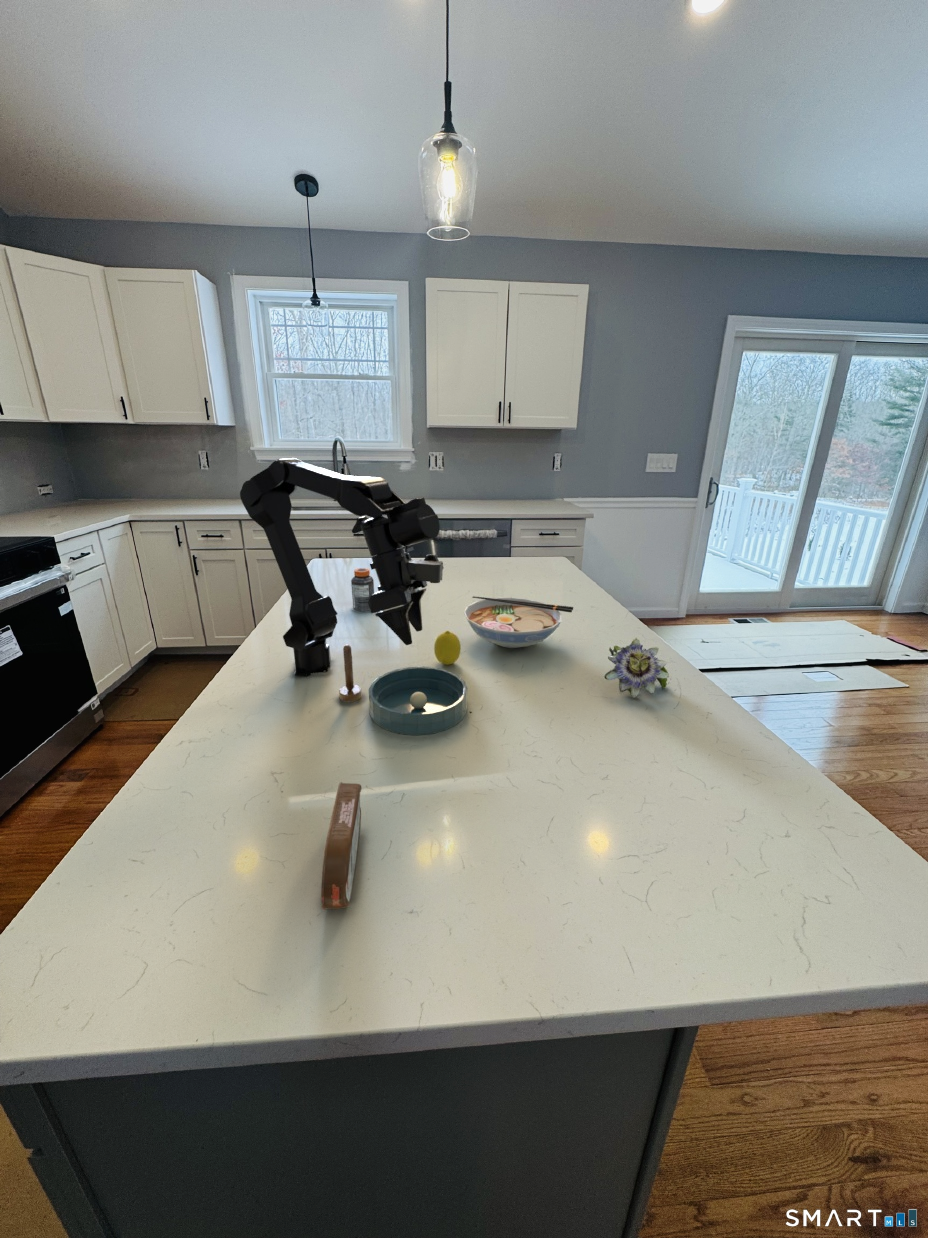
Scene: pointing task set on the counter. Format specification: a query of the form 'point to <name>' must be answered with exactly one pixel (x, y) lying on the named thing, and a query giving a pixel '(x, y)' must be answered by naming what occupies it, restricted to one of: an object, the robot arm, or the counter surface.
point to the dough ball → (418, 700)
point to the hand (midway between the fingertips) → (414, 637)
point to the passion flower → (637, 668)
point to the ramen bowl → (514, 620)
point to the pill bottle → (362, 589)
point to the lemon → (447, 648)
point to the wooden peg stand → (349, 679)
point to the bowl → (401, 717)
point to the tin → (341, 847)
